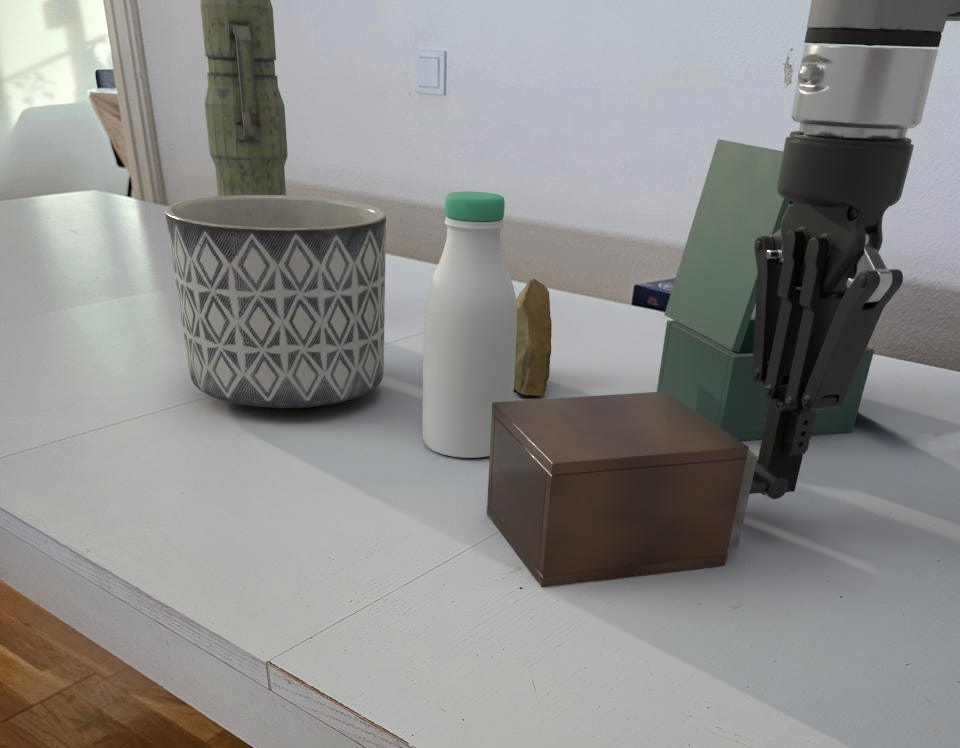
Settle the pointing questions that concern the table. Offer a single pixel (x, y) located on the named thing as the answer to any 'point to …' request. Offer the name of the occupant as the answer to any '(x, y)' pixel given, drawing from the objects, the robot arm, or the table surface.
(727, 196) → the lid
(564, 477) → the cabinet
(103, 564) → the table surface
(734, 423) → the chest
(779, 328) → the robot arm
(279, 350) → the planter
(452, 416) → the milk bottle
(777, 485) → the drawer
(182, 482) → the table surface
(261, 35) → the thermos
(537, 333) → the rock
